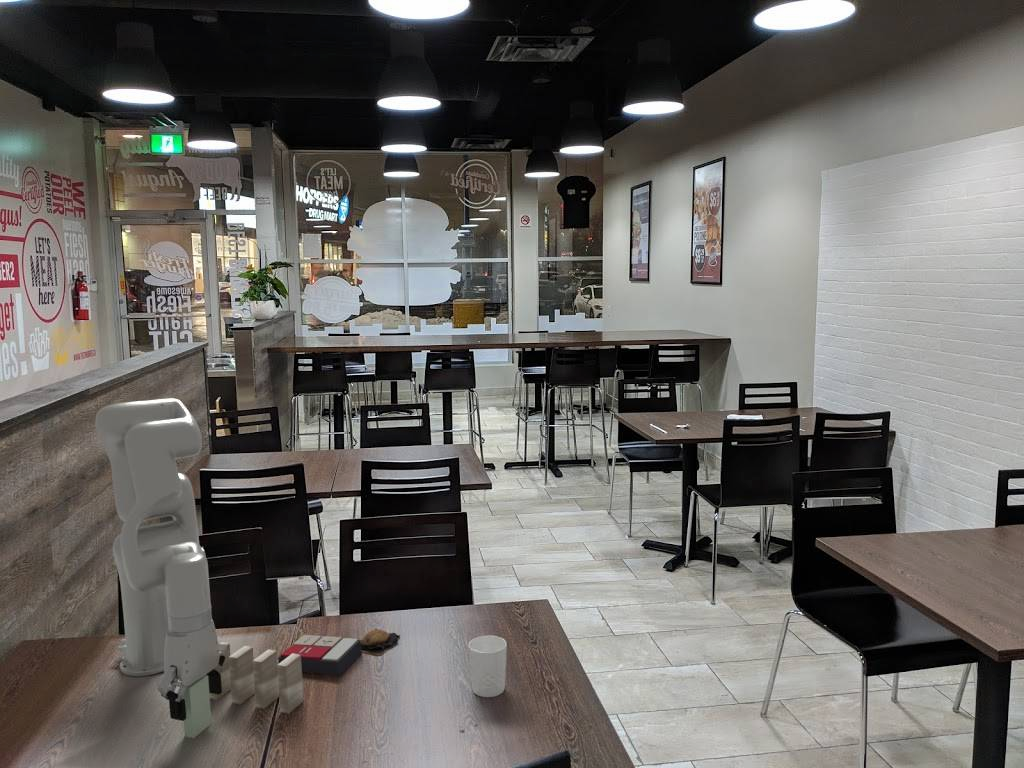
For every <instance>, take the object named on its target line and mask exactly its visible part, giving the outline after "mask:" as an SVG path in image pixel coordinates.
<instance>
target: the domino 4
mask: <svg viewBox="0 0 1024 768" xmlns="http://www.w3.org/2000/svg"><path fill="white" fill-rule="evenodd" d="M277 665H278V653H277V650H275V649H266V651H264V652H263V653H261V654H260V655H258V656H256V658H254V660H253V671H254V686H255V693H254V698H255V708H256V709H262V710H265V709H267V707H268V706H270V705H271V704H272V703H273V702H275V701H276V700H277V699H278V698H279V682H278V666H277Z"/></svg>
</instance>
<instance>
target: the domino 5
mask: <svg viewBox="0 0 1024 768" xmlns="http://www.w3.org/2000/svg"><path fill="white" fill-rule="evenodd" d="M277 667H278V683H279V697H278V698H279V708H280V709H279V712H280V713H281V714H288V715H289V714H291V713H292V712H293V711H294V710H295V709H296V708H297V707H299V706H300V705H301V704H302V703H303V702H304V689H303V688H304V687H303V672H302V667H301V655H299V654H293V653H292V654H291V655H290V656H288V657H287V658H286V659H284V660H283V661H282V662H281V663H279V662H278V663H277Z"/></svg>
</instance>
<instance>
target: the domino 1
mask: <svg viewBox="0 0 1024 768" xmlns="http://www.w3.org/2000/svg"><path fill="white" fill-rule="evenodd" d="M182 699H185V706H186V719H185V720H184V721H183V731H184V737H187V738H190V739H191V738H192V739H194V738H195V737H197V736H198V735H199V734H201V733H202V732H203V731H204V730H206V729H207V728H209V726H211V725H212V724H213V723H212V712H211V699H210V695H209V681H208V675H204V676H203V677H201V678H200V679H198V680H197V681H195V682H194V683H192V684H191V685H189V686H187V687H186V690H185V692H184V695H183V697H182Z"/></svg>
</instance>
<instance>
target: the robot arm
mask: <svg viewBox="0 0 1024 768" xmlns="http://www.w3.org/2000/svg"><path fill="white" fill-rule="evenodd" d="M95 429H96V433H97V436H98V440H99V441H100V444H101V445H102V447H103V449H104V451H105V453H106V454H107V458H108V460H109V463H110V466H111V467H110V468H111V477H112V487H113V496H114V501H115V502H114V503H115V508H116V512H117V515H118V518H119V519H120V520H121V521H123V525H122V529H121V532H120V534H118V535H117V536H116V537H115V539H114V541H113V543H112V553H113V558H114V562H115V564H116V568H117V572H118V576H119V577H118V578H119V582H120V592H121V602H122V613H123V623H124V624H123V625H124V637H125V638H122V639H121V640H120V641H119V645H117V646H116V648H115V651H116V652H117V653H121V654H123V659H122V660H121V661H120V664H119V670H120V672H121V673H123V674H124V675H126V676H129V677H130V676H131V677H146V676H151V675H156V674H160V673H163V672H164V673H163V674H164V675H163V677H162V679H161V680H160V681H159V683H158V684H157V685H156V688H157V690H158V692H159V693H160V696H161V697H163V698H164V699H165V700H167V701H168V706H169V707H168V708H169V716H170V719H172V720H174V721H175V720H177V721H182V722H184V720H185V719H186V706H185V699H182V697H183V695H184V692H185V690H186V687H187V686H189V685H191V684H192V683H194V682H195V681H197V680H198V679H200V678H201V677H203V676H204V675H208V681H209V693H213V694H221V693H222V685H221V674H220V673H222V671H223V668H222V665H223V663H224V661H225V656H224V655H225V653H226V649H227V645H225V644H219V642H218V635H217V630H216V627H215V623H214V620H213V618H212V617H213V616H212V609H213V608H212V604H211V592H210V580H209V579H210V578H209V564H208V559H207V557H206V552H205V549H204V548H203V547H202V546H201V545H200V540H199V539H200V538H199V529H198V528H199V527H198V518H197V510H196V509H197V508H196V500H195V494H194V487H193V485H192V483H191V480H190V479H189V477H188V476H187V475H186V474H184V473H182V472H179V470H178V466H177V461H176V460H179V459H186V458H192V457H196V456H198V455H199V454H200V452H201V451H202V449H203V447H202V446H203V438H202V433H201V430H200V427H199V425H198V422H197V421H196V419H195V417H194V416H193V414H192V413H191V412H190V411H189V410H188V408H187V406H186V405H185V404H184V403H183V402H182V400H180V399H178V398H173V397H172V398H170V397H169V398H159V399H149V400H148V399H147V400H137V401H136V400H135V401H126V402H118V403H114V404H109V405H107V406H106V405H105V406H103V407H101V408H100V409H99V410H98V411H97V412H96V415H95ZM164 517H172V520H170V521H166V522H161V523H153V524H148V525H143V526H141V525H142V523H143V522H144V521H148V520H154V519H160V518H164ZM177 687H179V688H178V690H177V692H176V689H177Z"/></svg>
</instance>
